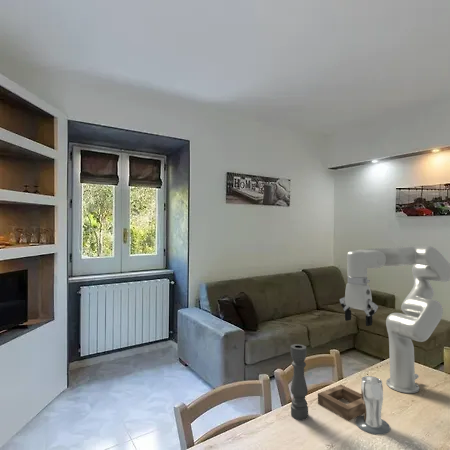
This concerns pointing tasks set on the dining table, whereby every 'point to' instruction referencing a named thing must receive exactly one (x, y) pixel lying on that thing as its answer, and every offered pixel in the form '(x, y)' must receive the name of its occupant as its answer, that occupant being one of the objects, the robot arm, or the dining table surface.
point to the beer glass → (372, 401)
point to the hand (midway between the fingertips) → (358, 322)
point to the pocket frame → (346, 411)
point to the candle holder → (299, 383)
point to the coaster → (382, 430)
